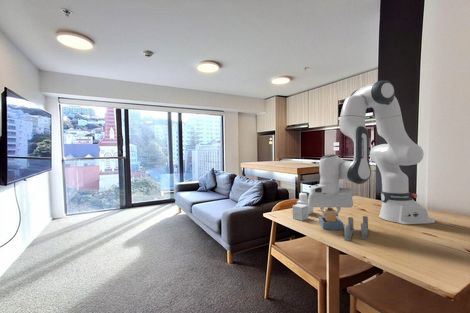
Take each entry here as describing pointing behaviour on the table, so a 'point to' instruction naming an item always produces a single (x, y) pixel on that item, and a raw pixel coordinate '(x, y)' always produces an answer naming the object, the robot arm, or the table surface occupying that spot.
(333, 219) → the block with round knob
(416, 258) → the table surface
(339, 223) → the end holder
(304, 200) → the medicine bottle
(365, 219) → the clip
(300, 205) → the product box
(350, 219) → the clip
